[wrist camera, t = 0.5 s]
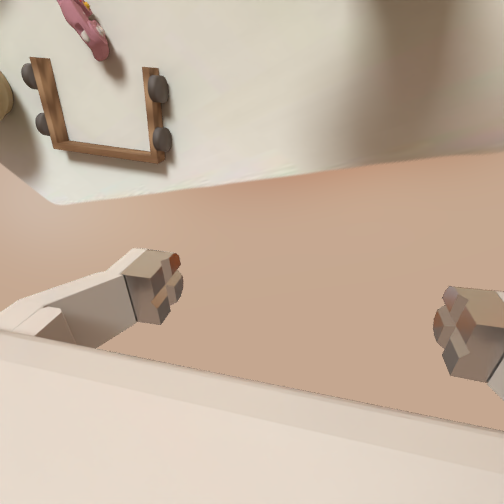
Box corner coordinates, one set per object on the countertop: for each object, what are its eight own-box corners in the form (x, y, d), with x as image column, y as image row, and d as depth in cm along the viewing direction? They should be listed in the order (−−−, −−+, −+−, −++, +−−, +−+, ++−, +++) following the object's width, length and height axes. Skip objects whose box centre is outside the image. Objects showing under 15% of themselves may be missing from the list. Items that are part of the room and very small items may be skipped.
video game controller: (123, 49, 50) (103, 37, 43) (102, 65, 51) (80, 55, 44) (83, -15, 46) (55, -38, 40) (62, 3, 47) (31, -17, 41)
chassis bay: (36, 57, 53) (16, 55, 50) (167, 69, 49) (154, 68, 46) (58, 144, 61) (42, 148, 58) (172, 161, 57) (162, 166, 53)
